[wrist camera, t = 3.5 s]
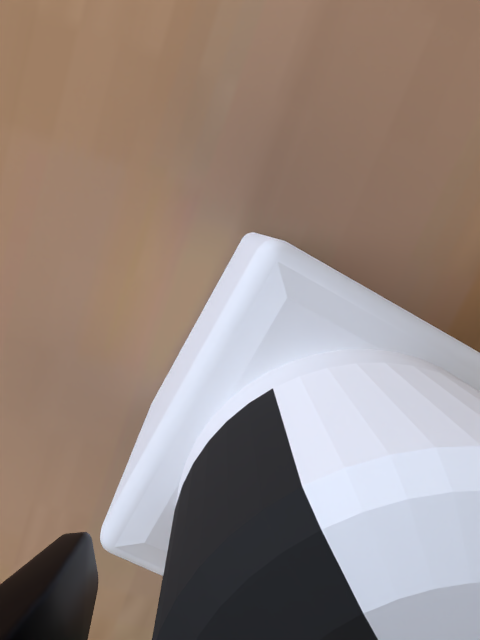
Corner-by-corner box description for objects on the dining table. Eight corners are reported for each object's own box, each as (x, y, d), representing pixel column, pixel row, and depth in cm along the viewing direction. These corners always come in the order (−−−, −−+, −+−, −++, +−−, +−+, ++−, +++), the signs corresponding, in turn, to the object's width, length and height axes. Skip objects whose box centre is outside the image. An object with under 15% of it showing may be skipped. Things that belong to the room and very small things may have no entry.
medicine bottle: (320, 492, 17) (546, 1122, 5) (148, 407, 16) (-71, 941, 4) (426, 329, 16) (1052, 657, 4) (247, 227, 15) (345, 241, 3)
